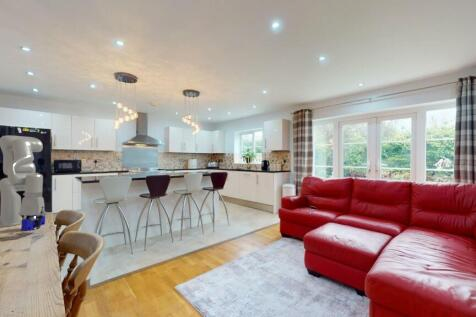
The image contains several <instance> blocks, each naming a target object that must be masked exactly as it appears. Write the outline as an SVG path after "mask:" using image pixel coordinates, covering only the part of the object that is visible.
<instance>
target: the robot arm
mask: <svg viewBox="0 0 476 317" xmlns="http://www.w3.org/2000/svg"><path fill="white" fill-rule="evenodd" d="M43 146H44V145H43V142H42V141H41V140H40V139H38V138H36V137H34V136H33V137H31V136H20V135H2V136H1V137H0V149H1V152H2V157H3V158H2V159H3V160H2V161H3V162H2V171H3V174H4V175H6V176H7V177H4V178H2V179H0V227H1V228H4V227H12V226H13V227H14V226H19V225H22V219H21V218H23V219H29V218H30V216H35V217H36V220H35V227H38V226H40V221H41V219H42V218H43V217H44V216H45V217H46V215H48V213H47V211H46V210H45V199H44V197H43V184H44V176H43V174H40V173H39V172H36V165H35V163H34V162H33V161H34V160H35V157H34V153H40V152H42V151H43V148H44V147H43ZM22 191H23V192H24V193H23V194H22V196H24V197H22V198H21V195H20V194H19V193H18V192H22ZM41 214H42V215H41ZM38 216H39V217H38ZM40 227H41V226H40Z"/></svg>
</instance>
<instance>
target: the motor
mask: <svg viewBox="0 0 476 317" xmlns="http://www.w3.org/2000/svg"><path fill="white" fill-rule="evenodd" d="M21 218H22V217H21ZM29 219H30V223H32V222H33V221H34V220H36V217H35V216H30V218H29ZM21 220H23V218H22V219H21ZM35 229H36V230H39V229H41V226H39V227H36V228H33V229H31V230H32V231H36V230H35ZM31 230H28V231H27V232H31Z"/></svg>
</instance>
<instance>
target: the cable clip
mask: <svg viewBox="0 0 476 317" xmlns="http://www.w3.org/2000/svg"><path fill="white" fill-rule="evenodd" d="M41 215H42V214H41ZM38 217H39V216H38ZM21 220H22V219H21ZM45 224H46V215H45V216H44V217H43V218H42V219H41V221H40V227H41V226H44V225H45ZM20 227H21V228H20V231H21V232H29V231H28V230H31V229H33V228H36V227H35V220H34V221H33V222H32V223H30V219H23V220H22V224H21V226H20ZM38 227H39V226H38Z"/></svg>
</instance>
